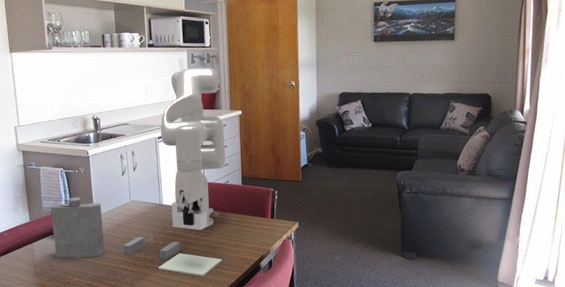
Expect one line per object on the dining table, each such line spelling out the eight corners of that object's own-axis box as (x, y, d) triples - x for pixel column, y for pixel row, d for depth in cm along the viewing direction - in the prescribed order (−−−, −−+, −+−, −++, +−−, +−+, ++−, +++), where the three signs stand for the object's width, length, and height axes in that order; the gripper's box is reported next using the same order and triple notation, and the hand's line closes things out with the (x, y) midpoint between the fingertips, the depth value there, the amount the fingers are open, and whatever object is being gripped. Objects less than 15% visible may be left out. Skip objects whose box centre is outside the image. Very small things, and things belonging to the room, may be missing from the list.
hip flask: (105, 252, 173) (100, 195, 169) (102, 256, 169) (97, 199, 165) (58, 253, 172) (52, 197, 168) (53, 258, 168) (47, 200, 164)
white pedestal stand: (179, 222, 162) (178, 200, 160) (207, 225, 158) (206, 202, 157) (172, 226, 158) (171, 203, 157) (200, 230, 154) (199, 206, 153)
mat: (179, 254, 169) (179, 253, 169) (221, 260, 163) (221, 259, 163) (158, 269, 158) (158, 267, 158) (203, 276, 152) (203, 274, 152)
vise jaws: (138, 245, 178) (138, 237, 178) (180, 250, 172) (179, 242, 172) (124, 253, 171) (123, 245, 170) (167, 259, 165) (166, 251, 164)
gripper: (192, 159, 163) (195, 213, 167) (163, 170, 148) (167, 229, 151) (213, 160, 161) (215, 215, 164) (185, 172, 145) (188, 232, 148)
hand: (192, 221), depth 157 cm, fingers closed on white pedestal stand, 4 cm apart
